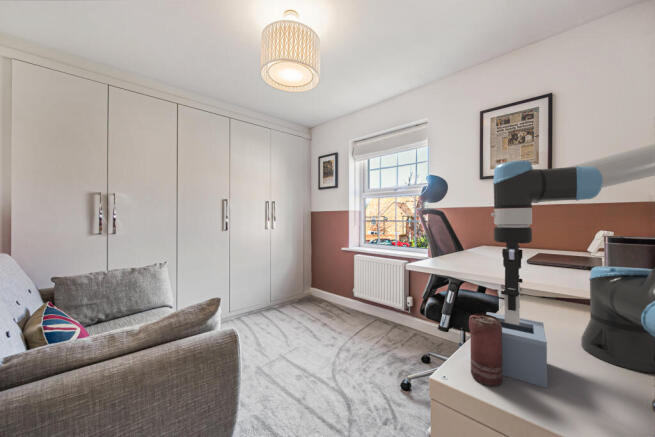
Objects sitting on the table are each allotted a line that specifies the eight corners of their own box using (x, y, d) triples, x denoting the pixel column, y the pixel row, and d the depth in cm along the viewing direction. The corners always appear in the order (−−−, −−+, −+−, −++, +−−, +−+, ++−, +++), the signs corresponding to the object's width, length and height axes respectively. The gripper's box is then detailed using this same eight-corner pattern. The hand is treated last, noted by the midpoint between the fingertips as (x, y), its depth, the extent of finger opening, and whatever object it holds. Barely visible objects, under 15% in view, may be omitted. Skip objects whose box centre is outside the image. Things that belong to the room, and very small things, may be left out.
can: (467, 367, 62) (467, 311, 62) (498, 373, 60) (497, 314, 60) (471, 383, 56) (471, 321, 56) (505, 390, 54) (505, 325, 54)
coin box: (543, 361, 64) (542, 322, 64) (546, 388, 54) (546, 342, 54) (487, 347, 71) (486, 311, 71) (481, 368, 62) (481, 327, 62)
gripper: (497, 223, 74) (497, 298, 74) (489, 228, 55) (490, 328, 56) (530, 224, 69) (530, 303, 70) (533, 229, 50) (534, 338, 51)
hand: (512, 314), depth 63 cm, fingers open, 11 cm apart
